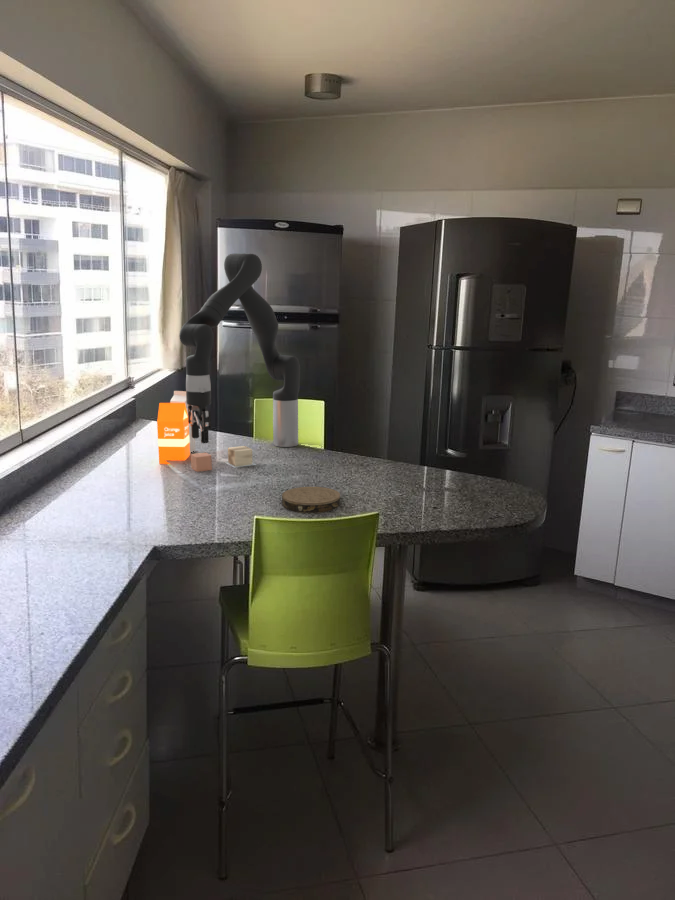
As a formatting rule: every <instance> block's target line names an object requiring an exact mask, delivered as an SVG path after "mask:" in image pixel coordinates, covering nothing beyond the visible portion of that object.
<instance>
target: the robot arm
mask: <svg viewBox="0 0 675 900" xmlns="http://www.w3.org/2000/svg"><path fill="white" fill-rule="evenodd" d="M223 267H224V269H223V270H224V274H225V275H226V278H227V280H228V281H229V282H228V283H227V284H225V285H224V286H223V287H221V288H219V289H218V290H216V291H215V292H214V293H212V294H211V295H210V296H209V297H208V298H207V300H206V301H205V302H204V304H203V306H202V307H201V308H200V310H198V312H197V313H195V314H194V315H192V316H191V317H190V318H189V319H188V320H187V321H185V322H184V324H183V325H182V327H181V328H180V331H179V336H178V337H179V340H180V343H181V344H182V345H184V346H186V347H190V348H195V353H194V354H191V355H188V356H187V357H186V359H185V370H186V371H185V372H186V377H185V391H186V402H187V404H188V423H190V426H192V427H191V431H192V438H195V439H198V438H200V442H201V444H208V443H209V442H210V441H209V431H211V430H212V414H211V412H212V411H211V410H207V406H209V405H211V404H212V389H211V388H212V386H211V378H210V377H211V376H210V358H211V356H212V351H213V346H214V341H215V334H214V332H213V329H214V328H216V327H218V326H219V324H221V322H222V321H223V319H224V317H225V316H226V314H227V313H228V311H229V310H230V309H231V307H233V305H234V304H235V303H236V302H237V301H239V302H240V304H241V306H242V309H243V311H244V314H245V315H246V318H247V322H248V323H249V325H250V327H251V330H252V333H253V334H254V336H255V338H256V341H257V343H258V346H259V348H260V349H259V350H260V352H261V354H262V358H263V362H264V363H265V368H266V371H267V372H268V375H269V377H270V378H272V379H273V380H275V381H282V382H283V387H281V388H279V389H276V390H273V392H272V431H273V434H272V435H273V437H272V438H273V439H272V440H273V441H272V442H273V446H275V447H281V448H292V447H296V446H298V445H299V392H300V386H301V385H300V382H301V381H300V379H301V365H300V361H299V358H298V357H297V356H295V355H284V354H283V355H282V354H280V353H279V351H278V350H277V347H276V339H277V335H278V332H279V323H278V319H277V316H276V314H275V311H274V309H273V308H272V306H271V305H270V304H269V302H268V301H267V300H265V298H263V296H261V294H259V293H258V292H257V291H256V289H255V288H254V287H253V285H254V284H255V283H256V282H257V280H259V278H260V276H261V274H262V270H263V265H262V261H261V259H260V257H259V255H257V254H254V253H250V252H249V253H248V252H246V253H245V252H241V253H229V254H228V255H226V257H225V258H224V261H223ZM199 429H200V430H199Z"/></svg>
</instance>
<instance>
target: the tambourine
mask: <svg viewBox="0 0 675 900" xmlns="http://www.w3.org/2000/svg"><path fill="white" fill-rule="evenodd" d="M281 498H282V499H281V505H282V507H283V508H284V509H285V510H288V511H290V512H295V513H300V514H320V513H326V512H331V511H334V510H336V509H338V508H339V507H340V506H341V504H340V503H341V493H340V492H339V491H338V490H336V489H333V488H328V487H325V486H324V487H322V486H299V487H294V488H290V489H287V490H284V492H282V494H281Z"/></svg>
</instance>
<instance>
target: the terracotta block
mask: <svg viewBox="0 0 675 900" xmlns="http://www.w3.org/2000/svg"><path fill="white" fill-rule="evenodd" d="M212 463H213V462H212V454H210V453H208V452H198V453H196V452H195V453H190V466H191V467H190V468H191V469H192V470H193V471H195V472H197V473H199V472H206V471H212V469H213V467H212V466H213V464H212Z"/></svg>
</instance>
